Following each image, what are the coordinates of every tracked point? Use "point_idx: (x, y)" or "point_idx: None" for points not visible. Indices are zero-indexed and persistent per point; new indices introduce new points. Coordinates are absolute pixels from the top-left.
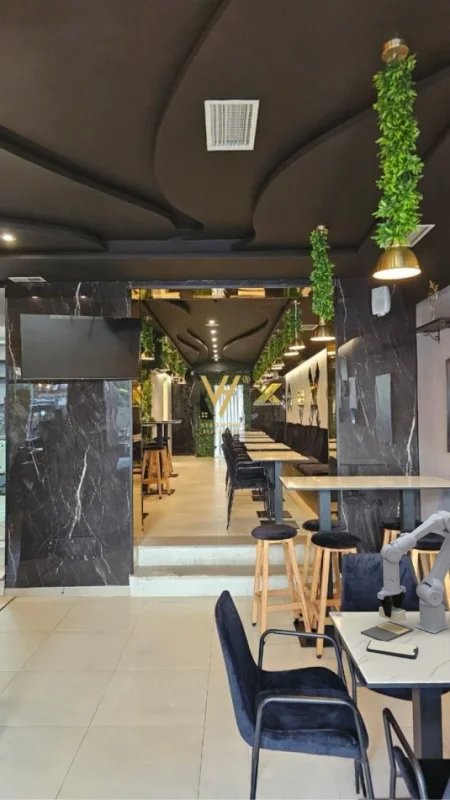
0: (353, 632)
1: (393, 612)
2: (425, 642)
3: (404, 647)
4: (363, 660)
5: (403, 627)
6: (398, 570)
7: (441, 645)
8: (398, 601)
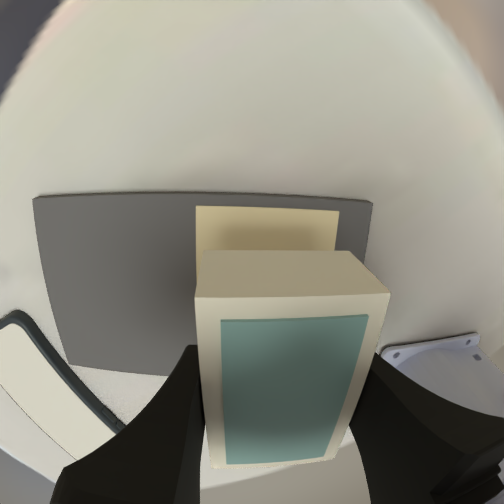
0: (19, 155)
1: (208, 445)
2: None
3: (95, 441)
4: None
5: None
6: None
7: (262, 471)
8: (377, 469)
